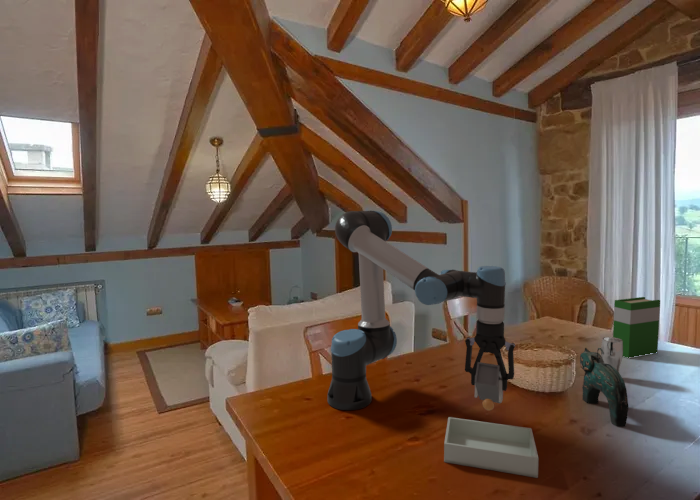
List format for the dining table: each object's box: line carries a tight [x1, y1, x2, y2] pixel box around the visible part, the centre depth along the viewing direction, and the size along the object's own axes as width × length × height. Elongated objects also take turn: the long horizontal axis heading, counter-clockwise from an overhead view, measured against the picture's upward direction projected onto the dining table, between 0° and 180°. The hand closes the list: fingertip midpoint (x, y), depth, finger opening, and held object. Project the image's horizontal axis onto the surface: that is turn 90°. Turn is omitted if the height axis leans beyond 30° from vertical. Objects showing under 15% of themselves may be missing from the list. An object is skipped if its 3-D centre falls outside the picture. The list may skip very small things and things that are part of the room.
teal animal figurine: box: [579, 347, 629, 427], centre depth 127 cm, size 20×6×20 cm, turn 178°
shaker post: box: [474, 361, 501, 404], centre depth 118 cm, size 6×6×13 cm
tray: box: [443, 416, 539, 479], centre depth 107 cm, size 22×14×5 cm, turn 72°
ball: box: [482, 399, 495, 411], centre depth 110 cm, size 3×3×3 cm
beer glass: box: [600, 336, 624, 375], centre depth 153 cm, size 7×7×15 cm
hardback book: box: [612, 296, 661, 359], centre depth 178 cm, size 18×7×24 cm, turn 109°
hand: (488, 397), depth 118 cm, fingers closed on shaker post, 6 cm apart
